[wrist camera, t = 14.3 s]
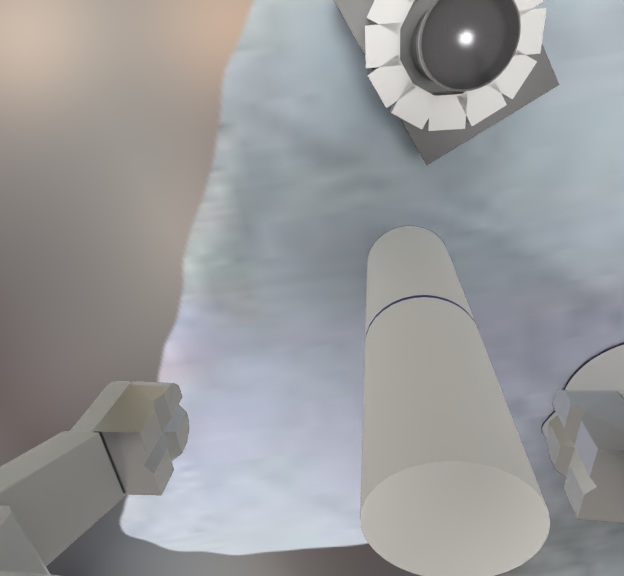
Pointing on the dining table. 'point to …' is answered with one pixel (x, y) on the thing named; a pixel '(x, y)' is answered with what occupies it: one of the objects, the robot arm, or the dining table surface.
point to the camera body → (430, 96)
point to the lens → (465, 42)
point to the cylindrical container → (438, 425)
